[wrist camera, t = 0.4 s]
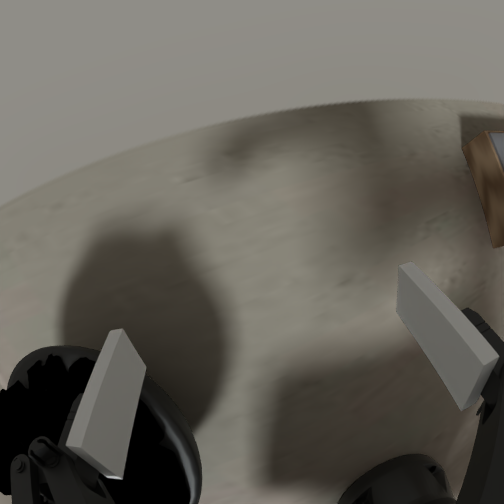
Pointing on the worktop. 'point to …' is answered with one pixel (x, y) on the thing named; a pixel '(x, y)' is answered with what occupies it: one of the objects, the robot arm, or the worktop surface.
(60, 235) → the worktop surface
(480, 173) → the walnut framed square mirror
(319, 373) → the worktop surface
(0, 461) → the coal bowl
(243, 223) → the worktop surface
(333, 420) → the worktop surface
